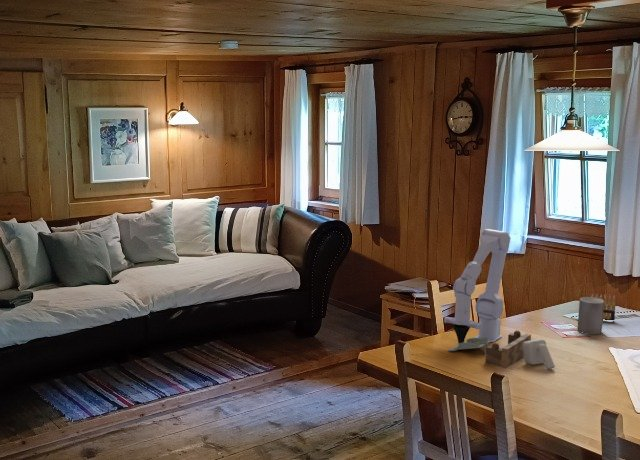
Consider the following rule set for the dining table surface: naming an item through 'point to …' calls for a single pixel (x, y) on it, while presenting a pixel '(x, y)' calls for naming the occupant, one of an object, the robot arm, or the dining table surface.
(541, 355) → the grey chunky block
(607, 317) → the ammunition clip
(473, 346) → the metal bracket
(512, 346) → the brown crenellated block
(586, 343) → the dining table surface
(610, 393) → the dining table surface
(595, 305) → the pillar candle
